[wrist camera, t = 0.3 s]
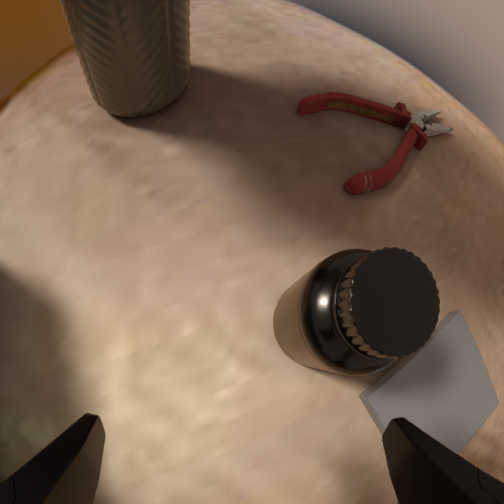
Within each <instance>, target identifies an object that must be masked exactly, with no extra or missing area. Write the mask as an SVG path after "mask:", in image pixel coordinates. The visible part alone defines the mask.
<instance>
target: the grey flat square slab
mask: <svg viewBox="0 0 504 504" xmlns="http://www.w3.org/2000/svg"><path fill="white" fill-rule="evenodd" d="M359 397H360V399H361V400H362V402H363V404H364V405H365V407H366V409H367V410H368V412H369V414H370V415H371V417H372V419H373V420H374V422H375V424H376V425H377V427H378V429H379V430H380V432H381V434H382V435H383V433H384V431H385V429H386V427H387V426H388V424H389V422H390V420H392V419H393V418H398V417H404V418H406V419H407V420H408V421H410V422H411V423H413V424H414V425H415V426H417V427H418V428H420V429H421V430H423V431H424V432H425V433H427V434H428V435H430V436H431V437H433V438H434V439H436V440H437V441H438V442H440V443H441V444H443V445H444V446H446V447H447V448H449V449H450V450H452V451H453V452H455V453H456V454H458V453H459V452H460V451H461V450H462V448H463V447H464V446H465V445H466V444H467V443H468V442H469V440H470V439H471V438H472V437H473V436H474V435H475V433H476V432H477V431H478V430H479V429H480V427H481V426H482V425H483V424H484V422H485V421H486V420H487V418H488V417H489V416H490V415H491V413H492V412H493V411H494V409H495V408H496V407H497V405H498V404H499V401H498V399H497V396H496V393H495V390H494V387H493V385H492V382H491V379H490V377H489V374H488V372H487V369H486V367H485V364H484V362H483V359H482V357H481V355H480V352H479V350H478V348H477V345H476V343H475V341H474V339H473V336H472V334H471V332H470V330H469V328H468V326H467V323H466V321H465V319H464V317H463V315H462V313H461V311H460V310H458V311H453V312H450V313H449V314H448V315H447V316H446V317H445V318H444V319H443V320H442V321H441V322H440V323H439V324H438V325H437V326H436V327H435V331H434V332H433V333H432V334H431V337H430V339H429V340H428V341H426V343H425V345H424V346H423V347H420V348H419V349H418V351H417V352H415V353H411V354H410V355H409V356H406V357H404V358H403V359H402V360H401V361H400V362H398V363H397V364H396V365H395V366H394V367H393V368H392V369H390V370H389V371H388V372H387V373H386V374H385V375H383V376H382V377H381V378H380V379H379V380H377V381H376V382H375V383H374V384H373V385H371V386H370V387H369V388H368V389H366V390H365V391H364V392H363V393H361V394H360V395H359Z"/></svg>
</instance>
